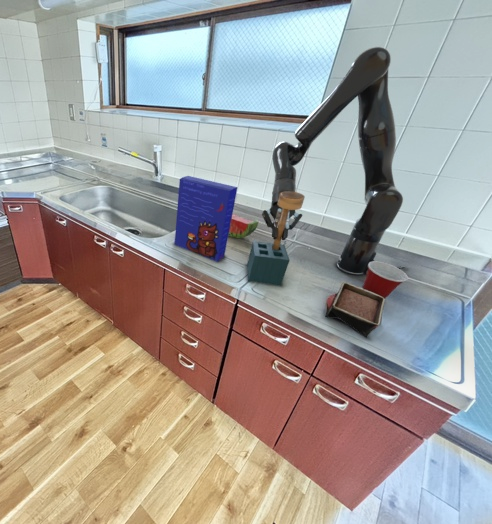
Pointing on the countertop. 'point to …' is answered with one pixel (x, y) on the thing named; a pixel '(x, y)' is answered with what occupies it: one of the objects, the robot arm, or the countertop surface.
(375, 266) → the plastic cup
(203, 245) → the cereal box
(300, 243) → the countertop surface
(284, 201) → the wooden mallet
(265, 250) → the holder
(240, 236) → the fruit slice
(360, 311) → the baking dish
